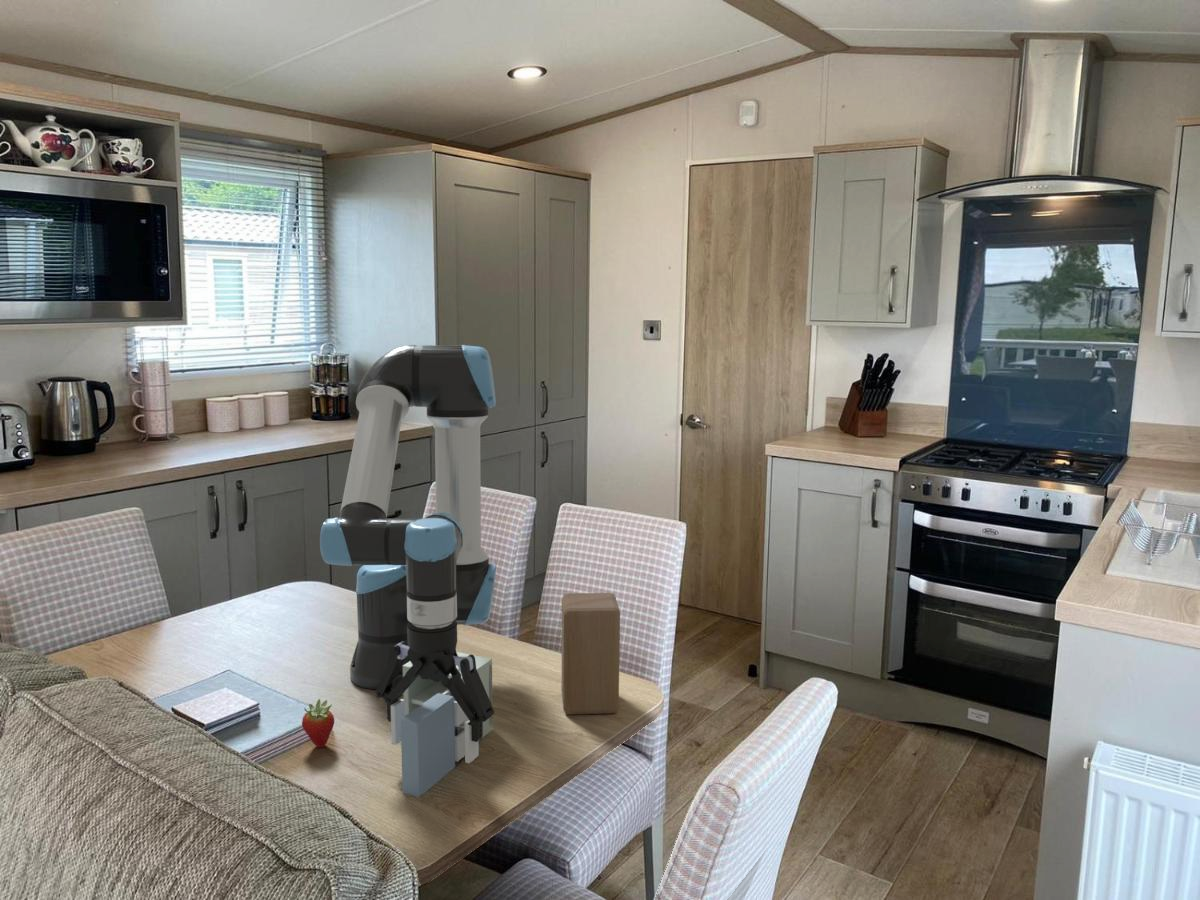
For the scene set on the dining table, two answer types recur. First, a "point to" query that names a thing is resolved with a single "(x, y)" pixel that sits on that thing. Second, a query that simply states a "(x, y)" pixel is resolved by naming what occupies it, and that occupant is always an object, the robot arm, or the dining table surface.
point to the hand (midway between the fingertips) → (434, 749)
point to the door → (431, 742)
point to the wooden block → (590, 653)
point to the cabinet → (428, 688)
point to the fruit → (318, 723)
